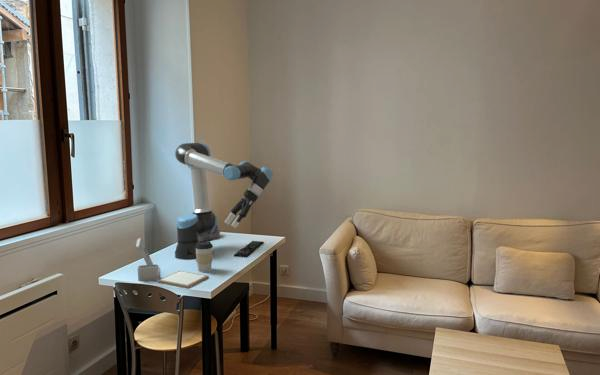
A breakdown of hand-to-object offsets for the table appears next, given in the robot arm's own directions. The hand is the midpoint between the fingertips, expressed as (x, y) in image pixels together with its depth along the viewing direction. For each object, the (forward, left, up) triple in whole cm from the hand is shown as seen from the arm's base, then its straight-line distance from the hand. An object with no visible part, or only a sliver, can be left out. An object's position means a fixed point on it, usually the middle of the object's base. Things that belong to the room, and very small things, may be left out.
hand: (229, 225), depth 239 cm
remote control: (-7, +32, -23) cm, 40 cm away
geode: (-46, +42, -23) cm, 67 cm away
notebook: (-9, -28, -23) cm, 37 cm away
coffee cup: (-9, -11, -23) cm, 27 cm away
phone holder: (-30, -29, -23) cm, 47 cm away
